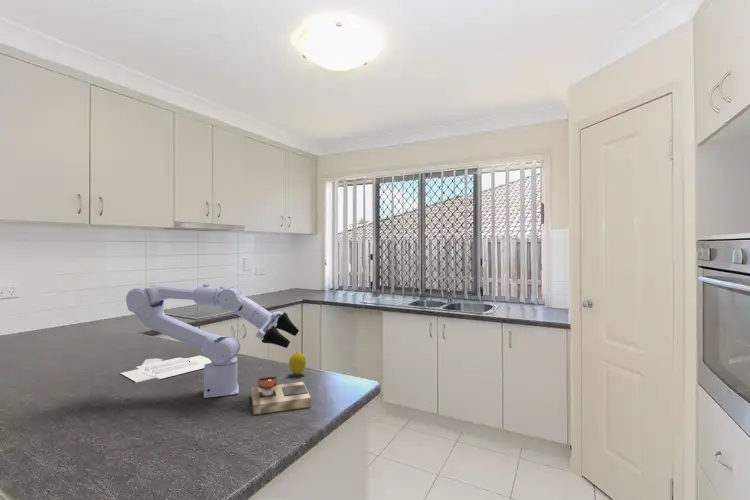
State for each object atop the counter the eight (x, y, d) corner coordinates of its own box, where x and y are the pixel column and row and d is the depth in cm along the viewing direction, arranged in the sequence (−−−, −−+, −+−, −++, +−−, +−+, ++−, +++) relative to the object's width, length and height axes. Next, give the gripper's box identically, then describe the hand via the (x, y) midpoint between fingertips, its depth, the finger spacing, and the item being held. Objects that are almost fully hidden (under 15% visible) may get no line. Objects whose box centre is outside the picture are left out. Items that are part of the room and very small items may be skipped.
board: (253, 414, 96) (253, 403, 96) (251, 396, 109) (251, 386, 109) (310, 406, 102) (311, 396, 102) (302, 389, 114) (302, 380, 114)
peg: (258, 408, 101) (258, 381, 101) (257, 400, 105) (257, 375, 106) (277, 405, 102) (278, 379, 102) (276, 398, 107) (276, 373, 107)
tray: (223, 365, 139) (222, 355, 139) (140, 390, 117) (139, 378, 117) (195, 356, 151) (195, 347, 151) (115, 376, 129) (115, 366, 129)
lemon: (301, 378, 124) (301, 354, 124) (286, 376, 126) (286, 353, 126) (307, 372, 130) (308, 350, 130) (293, 371, 131) (293, 349, 131)
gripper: (250, 314, 104) (290, 340, 105) (271, 295, 118) (306, 319, 118) (239, 332, 106) (279, 358, 106) (261, 312, 120) (296, 335, 120)
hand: (293, 339), depth 113 cm, fingers open, 7 cm apart
